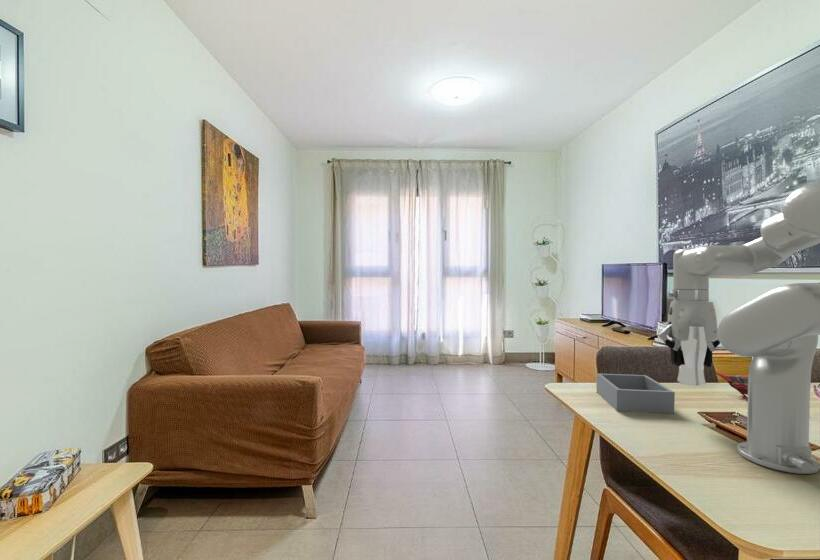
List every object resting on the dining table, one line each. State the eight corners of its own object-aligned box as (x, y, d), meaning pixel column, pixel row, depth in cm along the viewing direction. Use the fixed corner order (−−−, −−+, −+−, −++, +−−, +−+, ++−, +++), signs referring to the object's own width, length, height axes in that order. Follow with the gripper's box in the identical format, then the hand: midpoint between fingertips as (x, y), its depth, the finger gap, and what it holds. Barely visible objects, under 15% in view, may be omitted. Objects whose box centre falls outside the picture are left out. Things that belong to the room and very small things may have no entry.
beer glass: (697, 379, 106) (696, 323, 107) (714, 386, 100) (713, 326, 100) (669, 379, 107) (669, 323, 107) (685, 386, 100) (684, 326, 100)
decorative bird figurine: (768, 407, 115) (769, 373, 115) (709, 389, 133) (710, 359, 132) (775, 406, 116) (776, 372, 116) (716, 389, 133) (717, 359, 133)
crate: (674, 413, 110) (674, 392, 110) (616, 410, 113) (616, 389, 112) (645, 393, 128) (646, 375, 128) (596, 391, 130) (596, 373, 130)
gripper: (661, 297, 101) (662, 367, 101) (737, 297, 98) (738, 369, 98) (648, 295, 108) (648, 361, 108) (718, 295, 106) (719, 363, 106)
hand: (691, 364), depth 103 cm, fingers closed on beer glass, 6 cm apart
